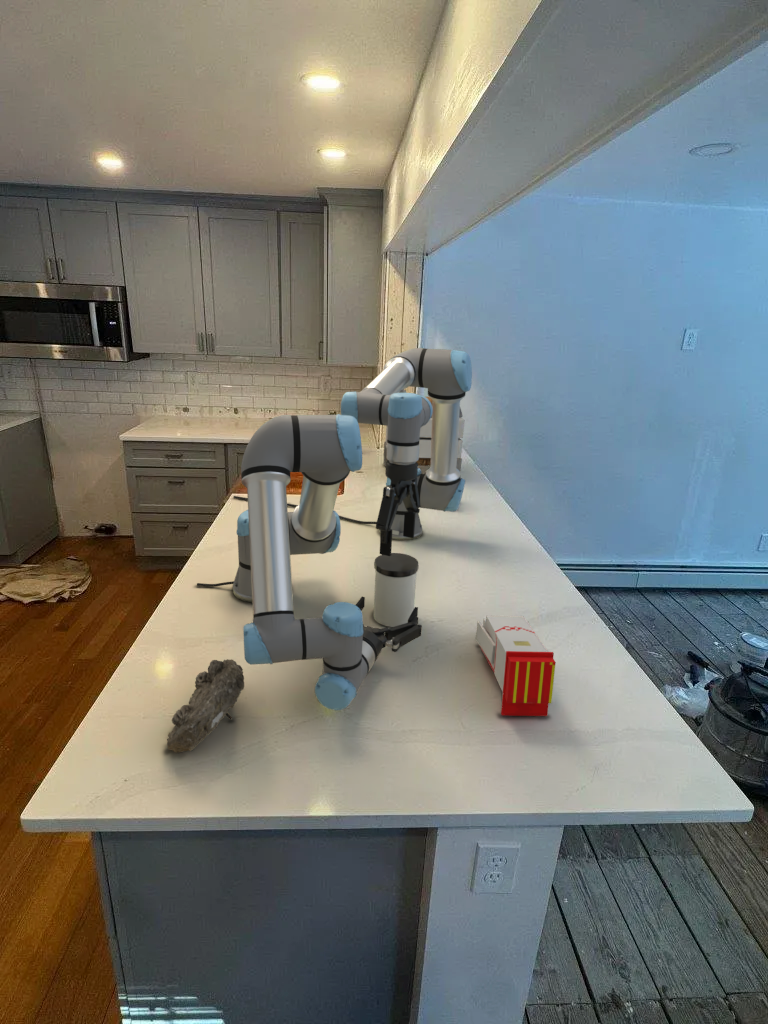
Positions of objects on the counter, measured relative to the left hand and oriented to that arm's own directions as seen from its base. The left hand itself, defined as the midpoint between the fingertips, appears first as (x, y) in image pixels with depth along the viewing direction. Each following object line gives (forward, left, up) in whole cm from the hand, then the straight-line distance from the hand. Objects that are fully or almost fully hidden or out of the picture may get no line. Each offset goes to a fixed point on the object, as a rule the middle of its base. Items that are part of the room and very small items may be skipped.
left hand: (389, 606), depth 139 cm
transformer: (-28, +141, -6) cm, 143 cm away
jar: (-1, +6, -6) cm, 9 cm away
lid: (0, +6, +9) cm, 11 cm away
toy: (+30, -9, -6) cm, 32 cm away
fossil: (-22, -43, -6) cm, 49 cm away
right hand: (0, +6, +14) cm, 15 cm away
